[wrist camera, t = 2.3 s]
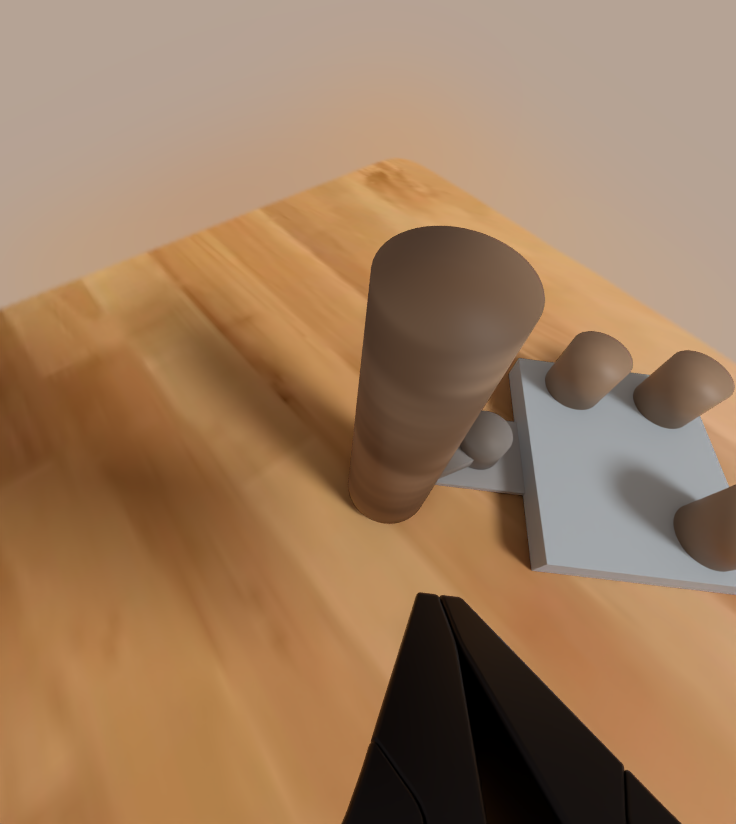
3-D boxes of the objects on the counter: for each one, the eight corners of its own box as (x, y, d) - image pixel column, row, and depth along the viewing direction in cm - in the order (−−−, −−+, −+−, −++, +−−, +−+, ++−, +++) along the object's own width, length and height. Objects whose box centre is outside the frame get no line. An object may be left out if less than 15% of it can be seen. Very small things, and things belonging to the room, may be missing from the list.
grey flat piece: (740, 595, 19) (845, 581, 15) (394, 554, 19) (411, 529, 15) (653, 359, 27) (708, 310, 23) (407, 327, 27) (421, 271, 23)
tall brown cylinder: (476, 411, 23) (614, 186, 12) (516, 470, 21) (723, 271, 10) (336, 464, 20) (343, 243, 9) (368, 536, 19) (423, 369, 7)
